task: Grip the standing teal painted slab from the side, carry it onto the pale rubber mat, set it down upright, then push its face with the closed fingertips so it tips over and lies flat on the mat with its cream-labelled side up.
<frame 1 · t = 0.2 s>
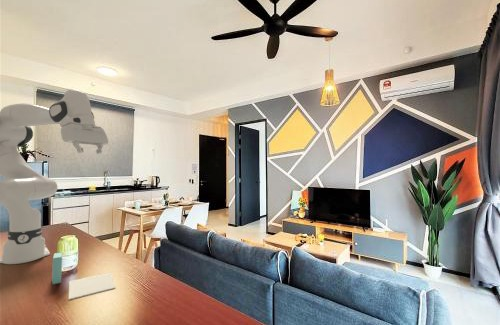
hand: (90, 152, 107), 51 cm above the table, tool tilted 20°, fingers open, 8 cm apart
slab: (56, 280, 94), on the table
mat: (91, 285, 91), on the table
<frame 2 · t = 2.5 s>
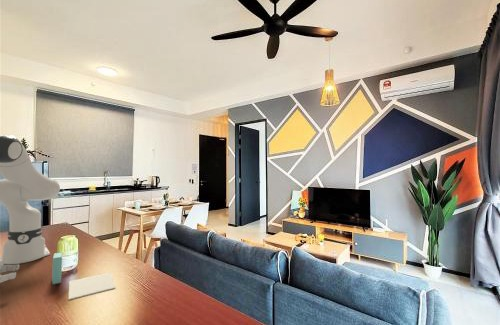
hand: (17, 270, 87), 7 cm above the table, tool horizontal, fingers open, 8 cm apart
nothing on the table moved.
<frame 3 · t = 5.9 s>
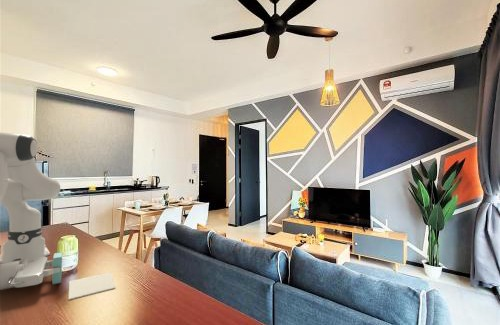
hand: (60, 265, 95), 6 cm above the table, tool horizontal, fingers closed on slab, 6 cm apart
slab: (57, 280, 94), on the table, touching gripper
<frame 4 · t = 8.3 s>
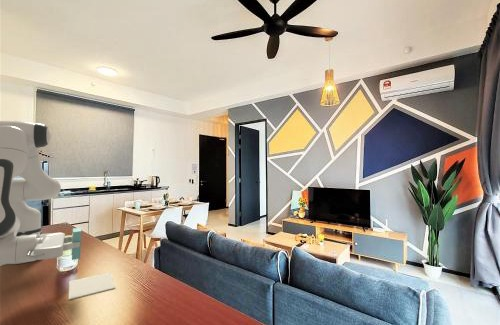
hand: (79, 241, 90), 17 cm above the table, tool horizontal, fingers closed on slab, 6 cm apart
slab: (76, 256, 89), point 12 cm above the table, touching gripper
when the fingers open (7 cm above the table, at t = 11.2 s): slab drops 1 cm, resting on mat.
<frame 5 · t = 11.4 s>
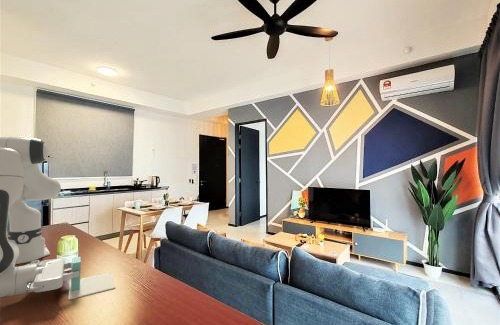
hand: (79, 268, 90), 7 cm above the table, tool horizontal, fingers open, 8 cm apart
slab: (75, 286, 89), resting on mat
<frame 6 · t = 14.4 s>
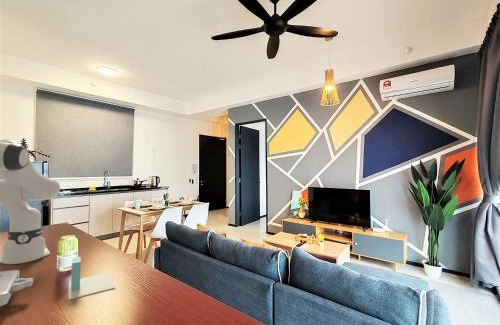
hand: (32, 281, 82), 6 cm above the table, tool horizontal, fingers closed
nothing on the table moved.
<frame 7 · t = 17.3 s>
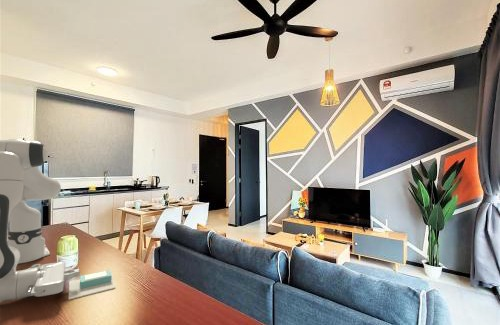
hand: (80, 272, 90), 6 cm above the table, tool horizontal, fingers closed
slab: (80, 282, 90), point 2 cm above the table, tilted 90°, touching mat
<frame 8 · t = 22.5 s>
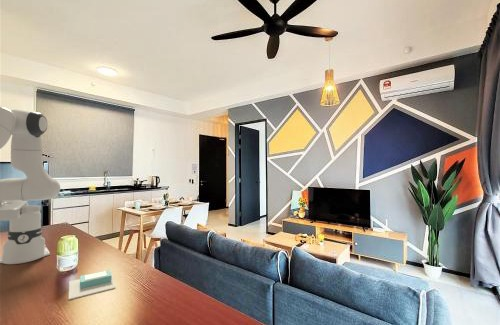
hand: (40, 208, 87), 30 cm above the table, tool horizontal, fingers closed
nothing on the table moved.
at the end: slab tilted 90°; slab inside the target area (3.8 cm from its centre), point 1.6 cm above the table; the gripper is holding nothing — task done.
